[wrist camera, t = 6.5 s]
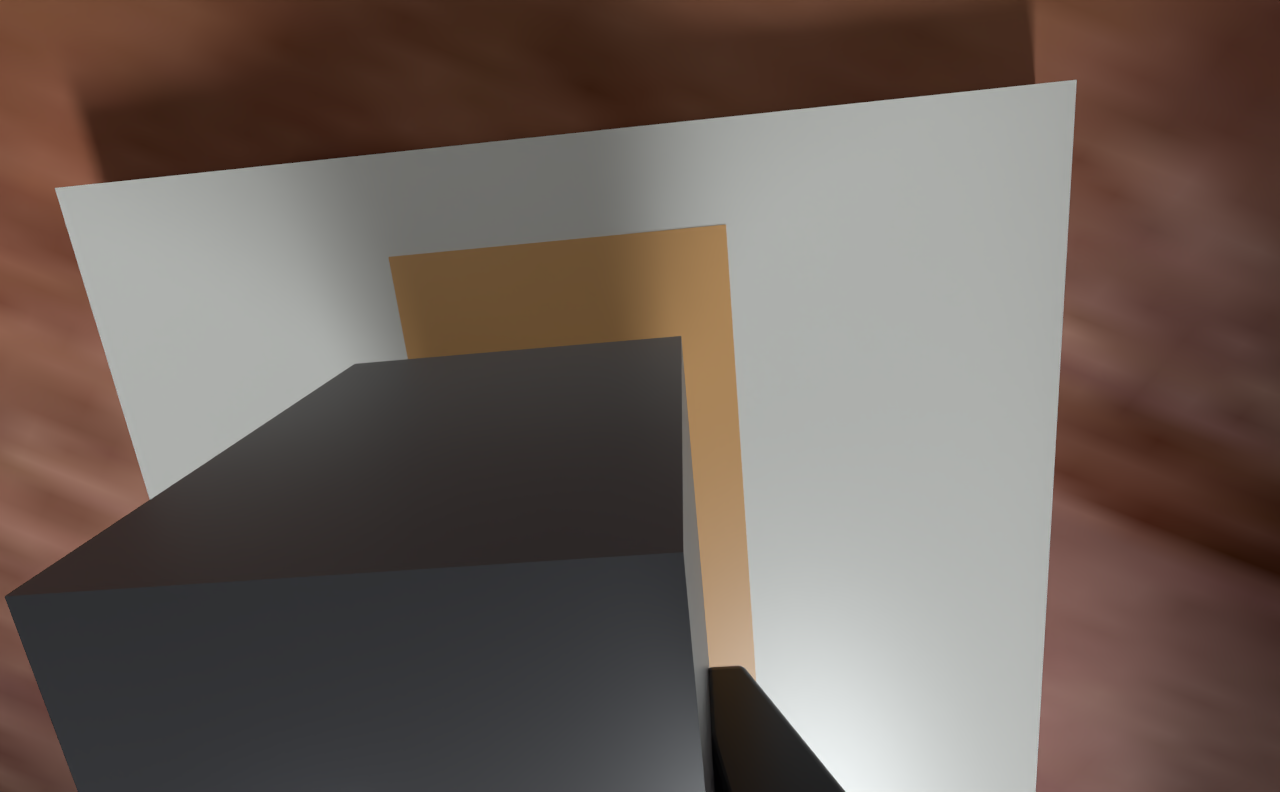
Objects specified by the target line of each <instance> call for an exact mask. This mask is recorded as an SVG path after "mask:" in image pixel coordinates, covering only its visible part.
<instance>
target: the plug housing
mask: <svg viewBox="0 0 1280 792" xmlns="http://www.w3.org/2000/svg"><path fill="white" fill-rule="evenodd" d="M5 599H6V601H7V604H8V607H9V609H10V612H11V615H12V617H13V620H14V623H15V625H16V628H17V631H18V633H19V636H20V639H21V641H22V644H23V647H24V649H25V652H26V655H27V657H28V660H29V663H30V665H31V668H32V671H33V673H34V676H35V679H36V681H37V684H38V687H39V689H40V692H41V694H42V697H43V700H44V702H45V705H46V708H47V710H48V713H49V716H50V718H51V721H52V724H53V726H54V729H55V732H56V734H57V737H58V740H59V742H60V745H61V748H62V750H63V753H64V756H65V758H66V761H67V764H68V766H69V769H70V772H71V774H72V777H73V780H74V782H75V785H76V788H77V790H78V792H715V782H714V771H713V758H712V739H711V717H710V695H709V673H708V668H709V656H708V644H707V632H706V621H705V609H704V597H703V585H702V574H701V562H700V550H699V538H698V527H697V515H696V503H695V491H694V479H693V468H692V456H691V444H690V432H689V421H688V409H687V397H686V385H685V374H684V362H683V350H682V338H681V336H674V337H663V338H651V339H639V340H627V341H616V342H604V343H592V344H581V345H569V346H557V347H545V348H534V349H522V350H510V351H498V352H487V353H475V354H463V355H452V356H440V357H428V358H416V359H405V360H393V361H381V362H370V363H358V364H354V365H352V366H351V367H349V368H348V369H346V370H345V371H343V372H342V373H340V374H339V375H337V376H336V377H334V378H333V379H331V380H329V381H328V382H326V383H325V384H323V385H322V386H320V387H319V388H317V389H316V390H314V391H313V392H311V393H310V394H308V395H307V396H305V397H304V398H302V399H301V400H299V401H298V402H296V403H295V404H293V405H292V406H290V407H289V408H287V409H286V410H284V411H283V412H281V413H280V414H278V415H277V416H275V417H274V418H272V419H271V420H269V421H268V422H266V423H265V424H263V425H262V426H260V427H259V428H257V429H256V430H254V431H253V432H251V433H250V434H248V435H247V436H245V437H244V438H242V439H241V440H239V441H238V442H236V443H235V444H233V445H232V446H230V447H229V448H227V449H226V450H224V451H223V452H221V453H220V454H218V455H217V456H215V457H214V458H212V459H211V460H209V461H208V462H206V463H205V464H203V465H202V466H200V467H199V468H197V469H196V470H194V471H193V472H191V473H190V474H188V475H187V476H185V477H184V478H182V479H181V480H179V481H178V482H176V483H174V484H173V485H171V486H170V487H168V488H167V489H165V490H164V491H162V492H161V493H159V494H158V495H156V496H155V497H153V498H152V499H150V500H149V501H147V502H146V503H144V504H143V505H141V506H140V507H138V508H137V509H135V510H134V511H132V512H131V513H129V514H128V515H126V516H125V517H123V518H122V519H120V520H119V521H117V522H116V523H114V524H113V525H111V526H110V527H108V528H107V529H105V530H104V531H102V532H101V533H99V534H98V535H96V536H95V537H93V538H92V539H90V540H89V541H87V542H86V543H84V544H83V545H81V546H80V547H78V548H77V549H75V550H74V551H72V552H71V553H69V554H68V555H66V556H65V557H63V558H62V559H60V560H59V561H57V562H56V563H54V564H53V565H51V566H50V567H48V568H47V569H45V570H44V571H42V572H41V573H39V574H38V575H36V576H35V577H33V578H32V579H30V580H29V581H27V582H26V583H24V584H23V585H21V586H19V587H18V588H16V589H15V590H13V591H12V592H10V593H9V594H7V595H6V596H5Z"/></svg>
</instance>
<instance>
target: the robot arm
mask: <svg viewBox="0 0 1280 792" xmlns="http://www.w3.org/2000/svg"><path fill="white" fill-rule="evenodd" d="M708 673H709V695H710V717H711V739H712V758H713V771H714V782H715V792H845V790H844V789H843V788H842V787H841V785H840V784H839V783H838V782H837V781H836V779H835V778H834V777H833V776H832V774H831V773H830V772H829V771H828V770H827V768H826V767H825V766H824V765H823V763H822V762H821V761H820V760H819V758H818V757H817V756H816V755H815V754H814V752H813V751H812V750H811V749H810V747H809V746H808V745H807V744H806V742H805V741H804V740H803V739H802V738H801V736H800V735H799V734H798V733H797V731H796V730H795V729H794V728H793V726H792V725H791V724H790V723H789V722H788V720H787V719H786V718H785V717H784V715H783V714H782V713H781V712H780V710H779V709H778V708H777V707H776V706H775V704H774V703H773V702H772V701H771V699H770V698H769V697H768V696H767V695H766V693H765V692H764V691H763V690H762V688H761V687H760V686H759V685H758V683H757V682H756V681H755V680H754V679H753V677H752V676H751V675H750V674H749V672H748V671H747V670H746V669H745V668H744V667H742V666H721V667H710V668H708Z"/></svg>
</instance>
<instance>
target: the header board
mask: <svg viewBox="0 0 1280 792" xmlns="http://www.w3.org/2000/svg"><path fill="white" fill-rule="evenodd" d="M1076 83H1077V80H1070V81H1060V82H1051V83H1042V84H1032V85H1023V86H1013V87H1004V88H994V89H985V90H976V91H966V92H957V93H947V94H938V95H928V96H919V97H910V98H900V99H891V100H881V101H872V102H862V103H853V104H844V105H834V106H825V107H815V108H806V109H796V110H787V111H778V112H768V113H759V114H749V115H740V116H730V117H721V118H712V119H702V120H693V121H683V122H674V123H664V124H655V125H645V126H636V127H627V128H617V129H608V130H598V131H589V132H579V133H570V134H561V135H551V136H542V137H532V138H523V139H513V140H504V141H495V142H485V143H476V144H466V145H457V146H447V147H438V148H429V149H419V150H410V151H400V152H391V153H381V154H372V155H363V156H353V157H344V158H334V159H325V160H315V161H306V162H297V163H287V164H278V165H268V166H259V167H249V168H240V169H231V170H221V171H212V172H202V173H193V174H183V175H174V176H164V177H155V178H146V179H136V180H127V181H117V182H108V183H98V184H89V185H80V186H70V187H61V188H55V190H56V194H57V197H58V200H59V203H60V207H61V210H62V213H63V217H64V220H65V223H66V226H67V230H68V233H69V236H70V239H71V243H72V246H73V249H74V253H75V256H76V259H77V262H78V266H79V269H80V272H81V276H82V279H83V282H84V285H85V289H86V292H87V295H88V298H89V302H90V305H91V308H92V312H93V315H94V318H95V321H96V325H97V328H98V331H99V335H100V338H101V341H102V344H103V348H104V351H105V354H106V357H107V361H108V364H109V367H110V371H111V374H112V377H113V380H114V384H115V387H116V390H117V394H118V397H119V400H120V403H121V407H122V410H123V413H124V417H125V420H126V423H127V426H128V430H129V433H130V436H131V439H132V443H133V446H134V449H135V453H136V456H137V459H138V462H139V466H140V469H141V472H142V476H143V479H144V482H145V485H146V489H147V492H148V495H149V498H150V499H152V498H153V497H155V496H156V495H158V494H159V493H161V492H162V491H164V490H165V489H167V488H168V487H170V486H171V485H173V484H174V483H176V482H178V481H179V480H181V479H182V478H184V477H185V476H187V475H188V474H190V473H191V472H193V471H194V470H196V469H197V468H199V467H200V466H202V465H203V464H205V463H206V462H208V461H209V460H211V459H212V458H214V457H215V456H217V455H218V454H220V453H221V452H223V451H224V450H226V449H227V448H229V447H230V446H232V445H233V444H235V443H236V442H238V441H239V440H241V439H242V438H244V437H245V436H247V435H248V434H250V433H251V432H253V431H254V430H256V429H257V428H259V427H260V426H262V425H263V424H265V423H266V422H268V421H269V420H271V419H272V418H274V417H275V416H277V415H278V414H280V413H281V412H283V411H284V410H286V409H287V408H289V407H290V406H292V405H293V404H295V403H296V402H298V401H299V400H301V399H302V398H304V397H305V396H307V395H308V394H310V393H311V392H313V391H314V390H316V389H317V388H319V387H320V386H322V385H323V384H325V383H326V382H328V381H329V380H331V379H333V378H334V377H336V376H337V375H339V374H340V373H342V372H343V371H345V370H346V369H348V368H349V367H351V366H352V365H354V364H358V363H370V362H381V361H393V360H405V359H416V358H428V357H440V356H452V355H463V354H475V353H487V352H498V351H510V350H522V349H534V348H545V347H557V346H569V345H581V344H592V343H604V342H616V341H627V340H639V339H651V338H663V337H674V336H681V338H682V350H683V362H684V374H685V385H686V397H687V409H688V421H689V432H690V444H691V456H692V468H693V479H694V491H695V503H696V515H697V527H698V538H699V550H700V562H701V574H702V585H703V597H704V609H705V621H706V632H707V644H708V656H709V668H710V667H721V666H742V667H744V668H745V669H746V670H747V671H748V672H749V674H750V675H751V676H752V677H753V679H754V680H755V681H756V682H757V683H758V685H759V686H760V687H761V688H762V690H763V691H764V692H765V693H766V695H767V696H768V697H769V698H770V699H771V701H772V702H773V703H774V704H775V706H776V707H777V708H778V709H779V710H780V712H781V713H782V714H783V715H784V717H785V718H786V719H787V720H788V722H789V723H790V724H791V725H792V726H793V728H794V729H795V730H796V731H797V733H798V734H799V735H800V736H801V738H802V739H803V740H804V741H805V742H806V744H807V745H808V746H809V747H810V749H811V750H812V751H813V752H814V754H815V755H816V756H817V757H818V758H819V760H820V761H821V762H822V763H823V765H824V766H825V767H826V768H827V770H828V771H829V772H830V773H831V774H832V776H833V777H834V778H835V779H836V781H837V782H838V783H839V784H840V785H841V787H842V788H843V789H844V790H845V792H1036V775H1037V758H1038V741H1039V723H1040V706H1041V689H1042V671H1043V654H1044V637H1045V619H1046V602H1047V585H1048V568H1049V550H1050V533H1051V516H1052V498H1053V481H1054V464H1055V446H1056V429H1057V412H1058V395H1059V377H1060V360H1061V343H1062V325H1063V308H1064V291H1065V273H1066V256H1067V239H1068V222H1069V204H1070V187H1071V170H1072V152H1073V135H1074V118H1075V100H1076Z"/></svg>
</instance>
